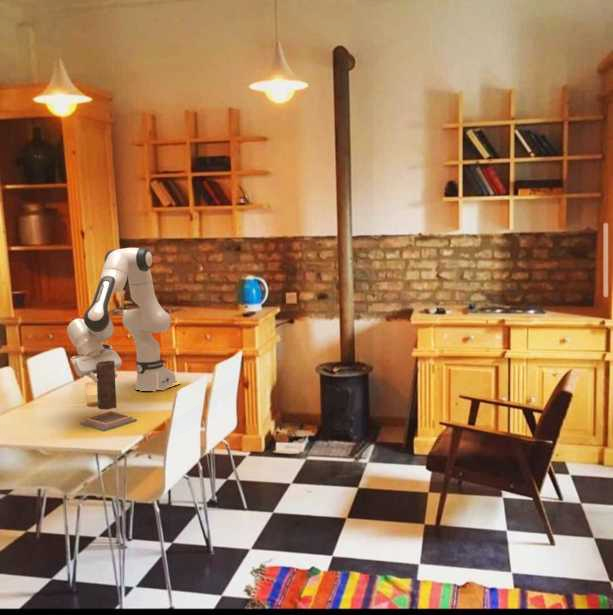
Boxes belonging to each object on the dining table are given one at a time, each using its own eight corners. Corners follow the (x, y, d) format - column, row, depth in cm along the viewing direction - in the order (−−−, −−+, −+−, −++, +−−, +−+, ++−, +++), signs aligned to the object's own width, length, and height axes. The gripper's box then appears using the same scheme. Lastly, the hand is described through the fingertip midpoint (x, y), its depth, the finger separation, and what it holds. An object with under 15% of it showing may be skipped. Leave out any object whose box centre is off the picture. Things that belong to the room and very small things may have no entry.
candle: (112, 412, 278) (110, 363, 275) (95, 411, 279) (92, 363, 276) (119, 406, 286) (117, 359, 283) (101, 406, 286) (99, 359, 283)
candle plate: (113, 414, 294) (112, 409, 294) (136, 421, 284) (136, 415, 284) (80, 424, 282) (80, 418, 281) (104, 431, 272) (103, 425, 271)
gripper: (71, 352, 275) (87, 379, 270) (114, 344, 291) (130, 370, 286) (65, 362, 278) (81, 389, 273) (108, 353, 294) (124, 379, 289)
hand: (106, 379), depth 280 cm, fingers closed on candle, 7 cm apart
